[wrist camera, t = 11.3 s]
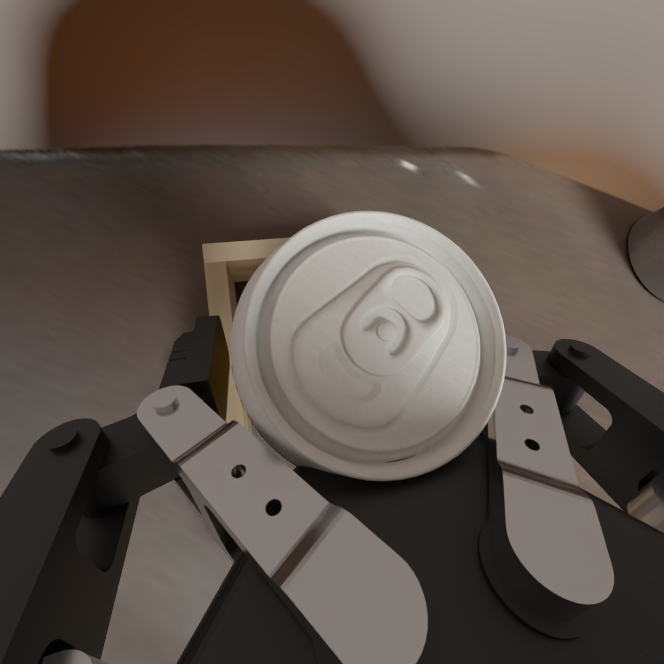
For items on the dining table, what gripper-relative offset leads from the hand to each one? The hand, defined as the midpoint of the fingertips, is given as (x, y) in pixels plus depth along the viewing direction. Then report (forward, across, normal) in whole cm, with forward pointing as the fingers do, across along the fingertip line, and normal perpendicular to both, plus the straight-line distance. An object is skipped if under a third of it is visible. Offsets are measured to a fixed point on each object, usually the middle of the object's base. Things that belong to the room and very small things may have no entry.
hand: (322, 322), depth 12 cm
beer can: (+5, 0, +7) cm, 9 cm away
